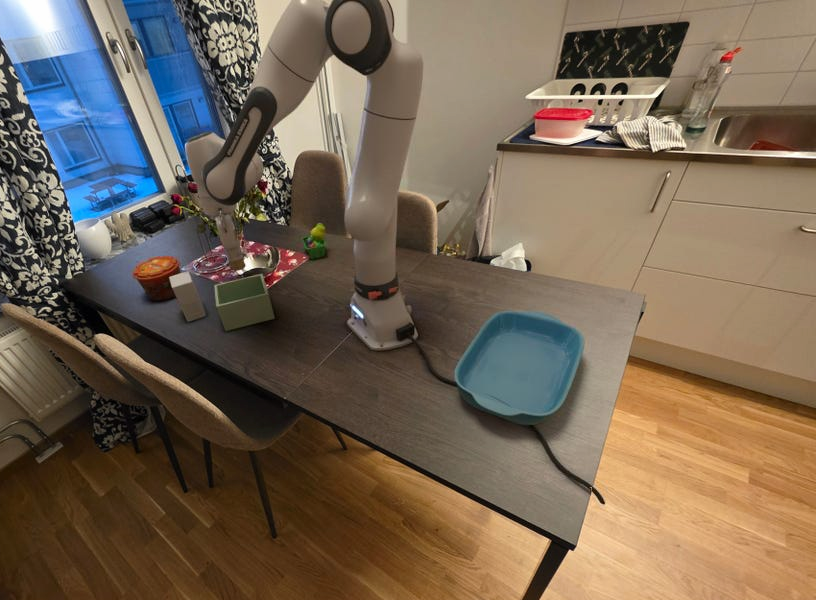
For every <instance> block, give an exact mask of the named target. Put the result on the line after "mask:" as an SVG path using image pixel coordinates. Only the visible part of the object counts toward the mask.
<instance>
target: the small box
mask: <svg viewBox="0 0 816 600" xmlns="http://www.w3.org/2000/svg"><path fill="white" fill-rule="evenodd" d="M169 279H170V283H171V286H172V289H173V291H174V293H175V295H176V296H175V297H176V300H177V302H178V304H179V306H180V308H181V310H182V311H181V312H182V313H183V315H184V317H185V320H186V322H187V323H189V322H192V321H196V320H199V319H201V318H204V317H206V316H207V313H206V310H205V307H204V306H203V302H202V301H201V299H200V296H199V294H198V291H197V289H196V287H195V284H194V281H193V278H192V277H191V274H190V272H189V271H184V272H181V273H180V274H177V275H174V276H171V277H169Z"/></svg>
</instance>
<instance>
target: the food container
mask: <svg viewBox="0 0 816 600" xmlns="http://www.w3.org/2000/svg"><path fill="white" fill-rule="evenodd" d="M180 273H182V271H181V269H180V260H179V259H178V258H176V257H174V256H172V255H162V256H160V255H159V256H154V257H151V258H148V260H146V261H141V262H140V263H139V264H137V265H136V266H135V268H134V269H133V271H132V277H133V279H134V280H137V282H138V283H139V285H140V286H141V288H142V289H143V291H144V292H145V293H146V295H147V296H148V298H149V299H150V300H152V301H155V302H162V301H163V302H164V301H168V300H171V299H173V298H175V297H176V295H175V293H174V291H173V289H172V286H171V283H170V279H169V277H171V276H174V275H177V274H180Z"/></svg>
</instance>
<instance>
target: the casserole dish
mask: <svg viewBox="0 0 816 600" xmlns="http://www.w3.org/2000/svg"><path fill="white" fill-rule="evenodd" d="M584 349H585V337H584V335H583V333H582V332H581V330H578V329H577V328H576V327H574V326H573V325H571V324H568V323H565V322H563V321H562V320H561V319H559V318H557V317H556V316H554V315H552V314H549V313H545V312H542V311H537V310H522V311H516V310H504V311H503V310H502V311H499V312H497V313H495V314H493V315H492V316H491V317H488V319H487V320H486V322H485V323H484V324H483V325H482V326H481V328H480V329H479V331H478V332H477V334H476V336H474V338H473V340H472V341H471V343H469V346H468V347H467V349H466V350H465V352H464V353H463V355H461V357H460V359H459V361H458V363H457V364H456V366H455V370H454V375H453V376H454V377H453V378H454V382H456V384H457V390H458V392H459V394H460V396H461V398H462V399H463V400H464V401H465V402H466V403H467V404H468V405H470V406H472V407H474V408H475V409H478V410H480V411H483V412H485V413H488V414H490V415H492V416H496V417H498V418H501V419H504V420H506V421H510V422H511V423H515V424H519V425H525V426H528V425H533V426H534V425H538V424H540V423H542V422H544V421H545V420H547V419H548V418H549V417H551V416H552V415H553V414H555V413H556V412H557V411H559V409H560V408H561V407H562V406H563V404H564V403H565V401H566V399H567V398H568V395H569V393H570V390H571V388H572V385H573V383H574V380H575V377H576V374H577V371H578V368H579V365H580V364H581V363H580V362H581V360H582V357H583V353H584ZM487 394H488V395H487ZM489 395H490V396H489ZM491 396H493V397H491ZM494 397H495V398H497V399H499V400H501V401H502V402H501V401H499V400H497V399H495V398H494ZM503 402H504V403H503ZM505 403H506V404H507V405H506V404H505ZM508 405H509V406H510V407H509V406H508Z"/></svg>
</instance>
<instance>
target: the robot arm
mask: <svg viewBox="0 0 816 600" xmlns="http://www.w3.org/2000/svg"><path fill="white" fill-rule="evenodd" d="M394 32H395V14H394V10H393V7H392V5H391V3H390V1H389V0H331V2H330V4H329V3H328V2H326V1H325V0H291V1H290V2H289V4H287V7H286V8H285V9H284V11H283V13H282V14H281V15H280V18H279V20H278V21H277V23H276V24H275V26H274V29H273V31H272V33H271V35H270V37H269V40H268V42H267V44H266V46H265V48H264V51H263V54H262V56H261V59H260V61H259V64H258V66H257V69H256V71H255V75H254V78H253V80H252V83H251V85H250V87H249V90H248V92H247V95H246V98H245V100H244V103H243V105H242V107H241V109H240V111H239V113H238V114H237V116H236V119H235V121H234V123H233V125H232V126H231V129H230V131H229V133H228V135H227V137H226V139H224V138H221V137H220V136H218V134H216V133H215V132H213V131H205V132H202V133H199V134H196V135H194V136H192V137H190V138H189V139H187V140H186V142H185V145H184V149H185V150H184V151H185V156H186V157H185V158H186V161H187V165H188V168H189V171H190V175H191V177H192V179H193V181H194V183H195V184H196V187H197V194H198V195H197V196H198V198H199V201H200V204H201V208H202V211H203V213H204V215H206V216H208V217H209V216H210V219H211V220H212V221H216V222H215V223H216V229H217V232H218V234H219V238H220V241H221V244H222V247H223V249H224V251H225V250H229V252H230V255H231V257H236V256H237V252H236V248H237V247H238V245H237V241H236V236H235V232H236V231H235V232H234V229H233V226H232V222H233V218H232V217H233V216H234V215H235V210H236V209H237V207H238V205H237V204H238V203H240V201H242V199H243V198H244V196H245V195H246V194H248V193H249V191H251V190H252V189H253V188H254V187H255V186H256V185H257V184H258V183H259V181H260V180H261V179H262V178H263V176H264V172H265V171H264V168H265V167H264V163H263V159H262V157H261V155H260V154H259V153H258V151H259V148H260V147H261V145H262V143H263V141H264V139H265V138H266V137H267V135H268V134H270V132H271V130H273V128H275V127H276V126H277V125H278V124H279V123H280V122H281V121H283V120H284V119H285V118H288V116H289V115H291V114H292V113H293V112H295V111H296V110H297V109H298V107H300V106H301V104H302V103H303V101H304V100H305V99H306V98H307V96H308V94H309V93H310V91H311V90H312V88H313V86H314V85H315V83H316V81H317V79H318V77H319V75H320V74H321V72H322V69H323V68H324V66H325V65H326V63H327V62H328V60H329V59H330V58H332V57H334V56H335V57H336V59H338V60H339V61H340V62H341V63H342V64H344V65H345V66H347V67H349V68H351V69H352V70H354V71H356V72H357V73H359V74H361V75H362V76H366V91H365V92H366V93H365V99H364V105H363V111H362V117H361V124H360V131H359V137H358V145H357V148H356V149H357V150H356V155H355V158H354V163H353V167H352V172H351V177H350V180H349V181H350V182H349V185H348V186H349V187H348V191H347V197H346V202H345V208H344V215H343V216H344V217H343V218H344V219H343V220H344V226H345V229H346V231H347V233H348V234H349V235H350V236H351V237H352V238H353V248H352V251H353V252H352V253H353V264H354V276H353V286H354V293H353V295H352V296H351V298H350V316H351V317H350V318H349V319H347V322H346V325H347V327H348V328H349V329H350V330H351V331H352V332H353V333H354V334H355V335H356V336H357V337H358V338H359V339H360V340H361V341H362V342H363V343H364V344H365V345H366V346H367V348H368V349H370V350H371V351H377V352H379V351H380V352H381V351H390V350H395V349H398V348H401V347H405V346H407V345H410V344H412V343H413V344H414V345H415V346H416V348H417V349H418V351H419V352H420V354H421V355H422V357H423V359H424V361H425V364H426V366H427V368H428V370H429V371H430V373H431V374H432V375H434V377H436V378H437V379H438V380H441V381H442V382H445V383H447V384H449V385H453V386H457V384H456V381H455V380H452V379H448V378H446V377H444V376H442V375H440V374H439V373H438V372H436V371H435V370H434V369H433V367H432V364H431V362H430V360H429V358H428V356H427V354H426V352H425V351H424V349H423V347H422V346H421V345H420V344H419V342H418V341H417V339H418V338H419V334H418V331H417V329H416V325H415V324H414V321H413V319H412V316H411V314H412V311H413V310H412V309H413V308H412V306H411V304H408V305H406V303H405V300H406V295H405V294H402V292H401V288H400V287H401V286H400V285H399V284H400V282H399V277H398V273H397V258H396V257H397V256H396V255H397V254H396V250H397V249H396V247H397V230H398V229H397V226H398V225H397V224H398V203H399V202H398V197H399V191H400V186H401V182H402V179H403V174H404V170H405V166H406V162H407V157H408V154H409V151H410V150H409V149H410V145H411V141H412V138H413V134H414V129H415V125H416V124H415V123H416V120H417V115H418V112H419V111H418V110H419V106H420V102H421V101H420V100H421V95H422V88H423V87H422V86H423V80H424V79H423V78H424V77H423V76H424V60H423V57H422V55H421V53H420V52H419V50H418V49H417V48H415V47H414V46H413V45H411V44H408V43H405V42H401V41H399V40H398V39H396V37H395V35H394ZM231 221H232V222H231ZM487 395H488V394H487ZM489 396H490V395H489ZM491 397H493V396H491ZM494 398H495V397H494ZM495 399H497V398H495ZM497 400H499V399H497ZM499 401H501V400H499ZM501 402H502V401H501ZM503 403H504V402H503ZM505 404H506V403H505ZM506 405H507V404H506ZM508 406H509V405H508ZM509 407H510V406H509ZM527 426H528V427H529V428H530V429H531V430H532V432H534V434H535V435H536V436H537V437H538V439H539V440H540V442H541V444H542V446H543V448H544V449H545V451H546V453H547V454H548V456H549V458H550V459H551V461H552V462H553V464H554V465H555V466H556V467H557V468H558V469H559V470H560V471H561V472H563V474H565V475H567V476H568V477H569V478H571V479H572V480H574V481H576V482H577V483H579V484H581V485H583V486H584V487H586V488H587V489H588V490H589V491H591V488H590V487H592V486H593V485H592V484H591V483H589V482H588V481H586V480H585V479H583V478H581V477H579V476H578V475H576V474H575V473H573V472H571V471H569V470H568V469H567V468H566V467H564V465H563V464H562V463H561V462H560V461H559V460H558V459H557V457H556V456H555V454H554V453H553V451H552V450H551V447H550V446H549V445H548V442H547V440H546V439H545V438H544V436H543V435H542V433H541V432H540V431H539V430H538V429H537V427H536V426H534V425H527ZM591 493H592V494H593V495H594V496H595V497H596V498H597V500H598V502H599V503H600V504H602V505H604V506H605V505H606V501H605V499H604V497H603V496H602V494H601V492H599V490H598V489H596V488H595V487H594V486H593V487H592V491H591Z"/></svg>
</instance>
